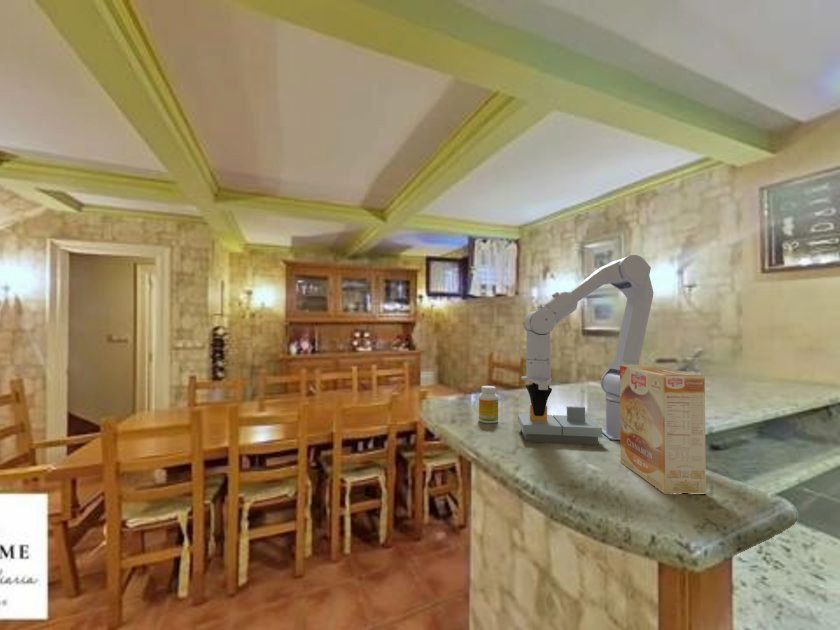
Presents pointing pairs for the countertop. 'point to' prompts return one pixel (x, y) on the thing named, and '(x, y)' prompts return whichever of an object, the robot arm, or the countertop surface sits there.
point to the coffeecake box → (663, 427)
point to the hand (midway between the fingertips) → (538, 414)
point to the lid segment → (578, 423)
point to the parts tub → (561, 439)
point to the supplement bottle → (488, 405)
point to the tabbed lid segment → (539, 423)
